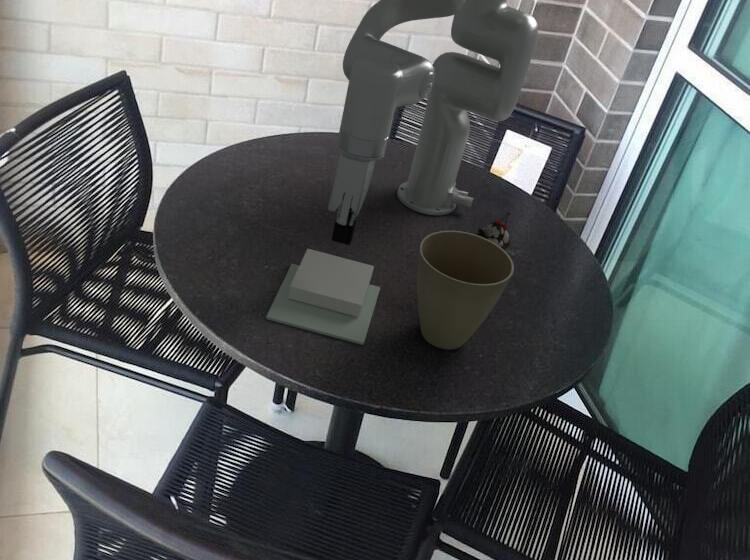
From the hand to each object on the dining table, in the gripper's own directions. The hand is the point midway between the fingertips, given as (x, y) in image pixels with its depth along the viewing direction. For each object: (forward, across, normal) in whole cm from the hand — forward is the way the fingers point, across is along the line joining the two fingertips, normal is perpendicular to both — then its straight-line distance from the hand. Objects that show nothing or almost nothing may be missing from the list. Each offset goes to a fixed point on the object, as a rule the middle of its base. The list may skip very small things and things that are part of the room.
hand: (341, 240), depth 134 cm
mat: (+10, +5, 0) cm, 11 cm away
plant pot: (+10, +5, +20) cm, 23 cm away
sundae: (+10, -13, +25) cm, 30 cm away
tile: (+8, -5, 0) cm, 9 cm away
